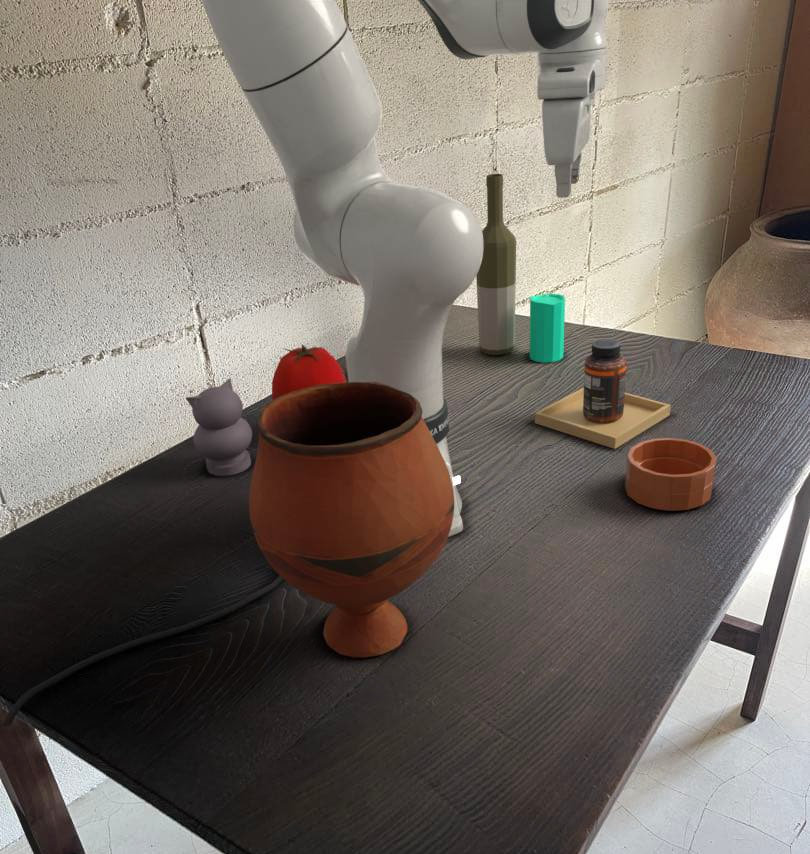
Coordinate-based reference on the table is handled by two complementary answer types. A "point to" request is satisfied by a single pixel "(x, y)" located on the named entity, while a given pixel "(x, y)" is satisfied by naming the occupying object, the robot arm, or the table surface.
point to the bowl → (670, 474)
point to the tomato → (305, 370)
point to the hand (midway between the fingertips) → (567, 189)
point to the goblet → (350, 504)
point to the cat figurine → (221, 430)
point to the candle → (547, 327)
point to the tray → (611, 434)
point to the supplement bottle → (604, 382)
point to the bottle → (496, 277)
